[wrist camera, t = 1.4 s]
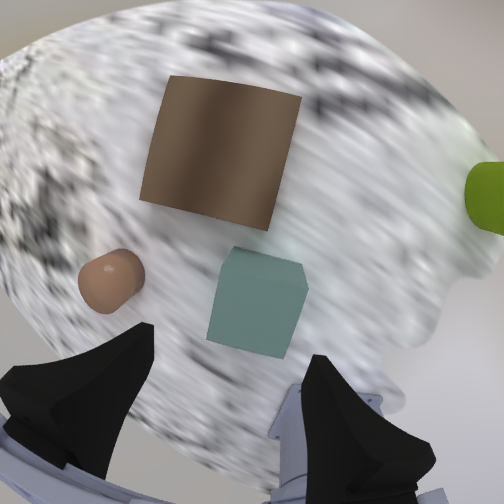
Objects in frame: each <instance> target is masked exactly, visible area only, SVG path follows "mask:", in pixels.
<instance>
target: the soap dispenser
mask: <svg viewBox="0 0 504 504" xmlns="http://www.w3.org/2000/svg"><path fill="white" fill-rule="evenodd" d="M465 202H466V207H467V211H468V214H469V216H470V218H471V220H472V221H473V222H474V224H475V225H476V226H478V227H479V228H481V229H484V230H487V231H491V232H494V233H497V234H500V235H503V236H504V162H482V163H479V164H477V165H476V166H474V167H473V169H472V170H471V171H470V173H469V175H468V178H467V181H466V186H465Z"/></svg>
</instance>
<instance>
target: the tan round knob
mask: <svg viewBox="0 0 504 504" xmlns="http://www.w3.org/2000/svg"><path fill="white" fill-rule="evenodd" d="M144 281H145V271H144V267H143V265H142V263H141V261H140V259H139V258H138V257H137V256H136V255H135V254H134V253H133V252H131V251H129V250H127V249H116V250H114V251H111V252H109V253H107V254H105V255H103V256H101V257H99V258H97V259H94V260H92V261H90V262H88V263H86V264H85V265H84V266H83V267H82V268H81V270H80V272H79V276H78V286H79V290H80V293H81V295H82V297H83V299H84V301H85V302H86V303H87V305H88V306H89V307H90V308H92V309H93V310H94V311H96V312H98V313H101V314H110V313H113V312H115V311H116V310H117V309H118V308H119V307H121V306H122V305H123V304H124V303H125V302H126V301H128V300H129V299H130V298H131V297H132V296H134V295H135V294H136V293H137V292H138V291H140V289H141V288H142V287H143V285H144Z"/></svg>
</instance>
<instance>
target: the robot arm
mask: <svg viewBox="0 0 504 504" xmlns="http://www.w3.org/2000/svg"><path fill="white" fill-rule="evenodd" d="M153 361H154V325H152V324H148V323H144V322H141V323H139V324H137V325H135V326H134V327H132V328H130V329H129V330H127V331H125V332H124V333H122V334H120V335H119V336H117V337H115V338H113V339H112V340H110V341H108V342H106V343H104V344H102V345H100V346H98V347H96V348H94V349H92V350H89V351H87V352H85V353H82V354H79V355H76V356H73V357H70V358H66V359H63V360H59V361H55V362H50V363H44V364H38V365H25V366H24V365H23V366H13V367H12V368H11V369H10V370H9V371H8V372H7V373H6V374H5V375H4V376H3V377H2V378H1V380H0V397H1V399H2V401H3V403H4V405H5V406H6V408H7V410H8V412H9V413H10V415H11V416H10V418H9V419H8V420H7V419H6V418H5V417H4V416H3V415H2V414H1V413H0V480H2V481H3V482H4V483H5V484H6V485H8V486H9V487H10V488H11V489H13V490H14V491H15V492H17V493H18V494H19V495H21V496H22V497H23V498H25V499H26V500H27V501H29V502H31V503H32V504H174V503H170V502H167V501H163V500H159V499H156V498H153V497H149V496H146V495H143V494H140V493H136V492H134V491H131V490H128V489H125V488H122V487H120V486H117V485H115V484H112V483H109V482H107V481H105V479H106V474H107V471H108V466H109V463H110V459H111V456H112V453H113V450H114V447H115V443H116V441H117V437H118V435H119V432H120V430H121V427H122V424H123V422H124V419H125V417H126V415H127V413H128V411H129V409H130V407H131V405H132V404H133V402H134V400H135V398H136V396H137V395H138V393H139V391H140V389H141V388H142V386H143V384H144V382H145V380H146V379H147V377H148V374H149V372H150V369H151V367H152V364H153ZM299 390H301V391H299ZM369 399H370V400H369ZM382 401H383V398H382V397H381V396H377V395H366V394H357V393H356V392H355V391H354V390H353V389H352V388H351V387H350V386H349V384H348V383H347V382H346V381H345V379H344V378H343V377H342V376H341V374H340V373H339V372H338V371H337V369H336V368H335V367H334V365H333V364H332V363H331V361H330V360H329V359H328V358H327V356H324V355H315V354H313V356H312V359H311V362H310V364H309V367H308V370H307V372H306V375H305V377H304V380H303V382H302V385H292V386H291V387H290V389H289V391H288V393H287V395H286V398H285V400H284V402H283V404H282V406H281V408H280V410H279V413H278V415H277V417H276V419H275V421H274V423H273V425H272V427H271V429H270V431H269V433H268V438H270V439H274V440H280V441H281V444H280V483H279V488H278V489H275V490H271V500H270V501H267V502H264V503H262V504H449V503H448V500H447V497H446V494H445V492H444V489H443V488H439V489H436V490H433V491H429V492H426V493H423V494H421V495H419V496H417V497H416V494H415V491H416V490H418V486H417V481H419V480H420V479H421V478H422V477H423V476H424V475H425V474H426V473H428V472H429V471H430V470H431V468H432V467H433V466H434V464H435V462H436V457H435V455H434V453H433V450H432V448H431V446H430V444H429V443H428V442H426V441H423V440H421V439H419V438H417V437H414V436H412V435H410V434H408V433H406V432H405V431H403V430H401V429H399V428H398V427H396V426H395V425H393V424H391V423H390V422H388V421H387V420H386V419H384V417H383V414H382V412H381V409H380V404H381V403H382Z"/></svg>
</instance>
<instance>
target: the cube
mask: <svg viewBox="0 0 504 504" xmlns="http://www.w3.org/2000/svg"><path fill="white" fill-rule="evenodd" d="M308 289H309V288H308V284H307V281H306V277H305V274H304V270H303V267H302V264H300V263H296V262H292V261H289V260H285V259H281V258H277V257H273V256H270V255H266V254H262V253H258V252H254V251H250V250H247V249H243V248H239V247H235V246H234V248H233V249H232V251H231V252H230V254H229V256H228V257H227V259H226V260H225V262H224V263H223V265H222V268H221V272H220V277H219V281H218V286H217V290H216V295H215V299H214V304H213V309H212V313H211V318H210V323H209V328H208V332H207V337H206V340H209V341H212V342H216V343H219V344H223V345H227V346H230V347H234V348H238V349H242V350H246V351H250V352H254V353H258V354H262V355H266V356H271V357H275V358H280V359H284V357H285V354H286V351H287V349H288V346H289V343H290V341H291V338H292V335H293V332H294V330H295V327H296V324H297V321H298V318H299V316H300V313H301V310H302V307H303V304H304V301H305V298H306V295H307V292H308Z"/></svg>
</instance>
